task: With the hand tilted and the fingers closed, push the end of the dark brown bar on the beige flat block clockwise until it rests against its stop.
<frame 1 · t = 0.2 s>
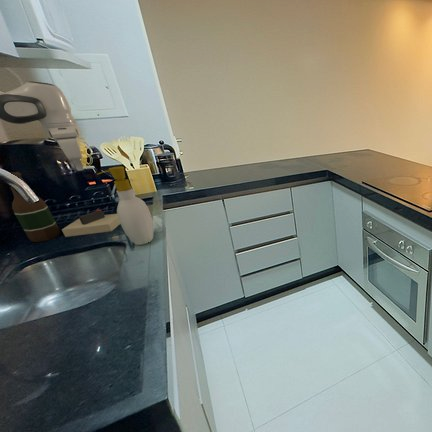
hand: (79, 168, 112), 21 cm above the counter, tool pointing down, fingers open, 8 cm apart
dark brown bar: (92, 216, 111), point 5 cm above the counter, hinge at 60.0°
beer bottle: (46, 238, 106), on the counter
beige flat block: (97, 227, 113), on the counter
soap bottle: (143, 240, 103), on the counter
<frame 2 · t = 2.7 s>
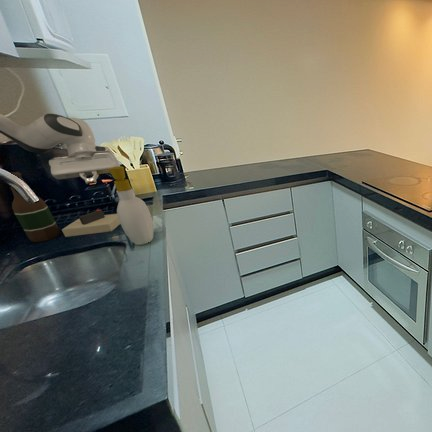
hand: (91, 183, 117), 15 cm above the counter, tool tilted 45°, fingers closed
nothing on the counter moved.
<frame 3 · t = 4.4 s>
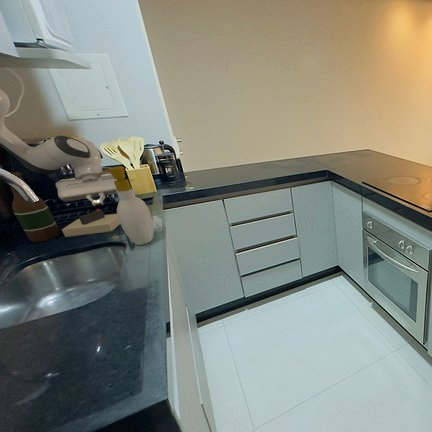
hand: (98, 204, 117), 7 cm above the counter, tool tilted 45°, fingers closed
nothing on the counter moved.
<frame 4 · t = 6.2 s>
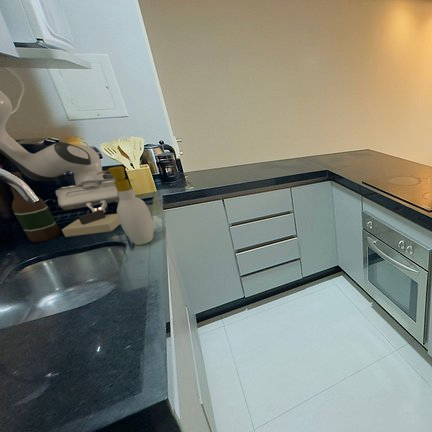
hand: (99, 212, 114), 5 cm above the counter, tool tilted 45°, fingers closed
dark brown bar: (92, 216, 111), point 5 cm above the counter, hinge at 52.0°, touching gripper
everything else where it was.
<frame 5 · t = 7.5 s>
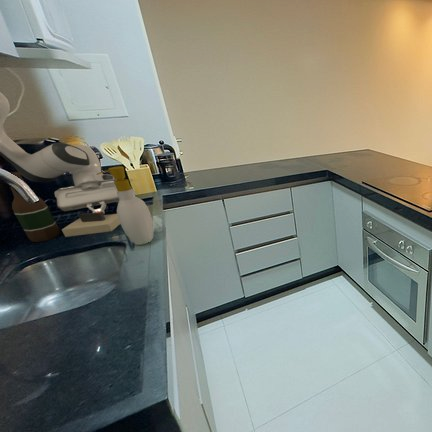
hand: (99, 214, 113), 5 cm above the counter, tool tilted 45°, fingers closed
dark brown bar: (92, 216, 111), point 5 cm above the counter, hinge at -8.2°, touching gripper
everything else where it was.
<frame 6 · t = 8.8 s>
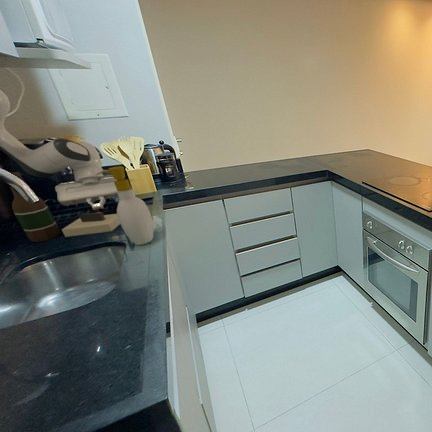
hand: (98, 208, 115), 6 cm above the counter, tool tilted 45°, fingers closed
dark brown bar: (92, 216, 111), point 5 cm above the counter, hinge at -8.2°
everything else where it was.
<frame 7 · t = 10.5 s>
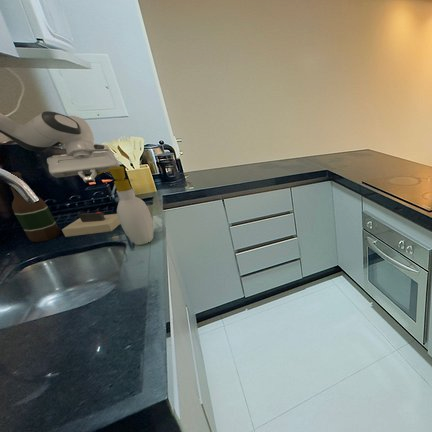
hand: (89, 181, 116), 16 cm above the counter, tool tilted 45°, fingers closed
nothing on the counter moved.
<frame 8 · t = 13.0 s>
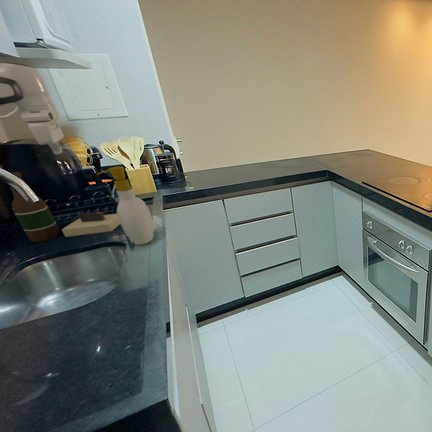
hand: (58, 153, 109), 27 cm above the counter, tool pointing down, fingers closed
nothing on the counter moved.
at the end: dark brown bar at -8° (first picture: +60°); dark brown bar reached +60° during the clip, -8° at the end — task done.
